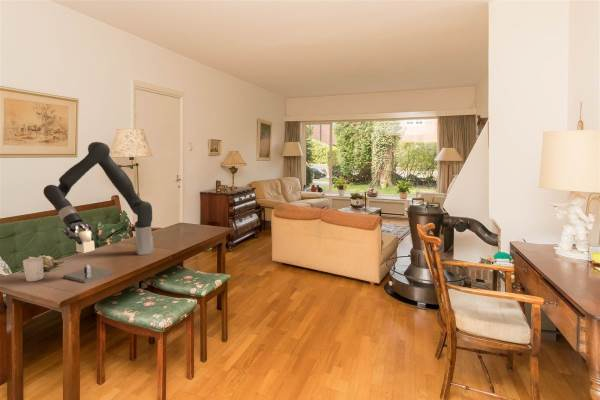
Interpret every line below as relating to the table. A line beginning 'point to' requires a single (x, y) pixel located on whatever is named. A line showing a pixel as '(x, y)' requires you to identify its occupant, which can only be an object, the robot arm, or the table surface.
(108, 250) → the table surface
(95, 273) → the grey base with post
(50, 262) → the ceramic sculpture
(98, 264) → the table surface
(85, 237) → the knob
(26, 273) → the white cup
